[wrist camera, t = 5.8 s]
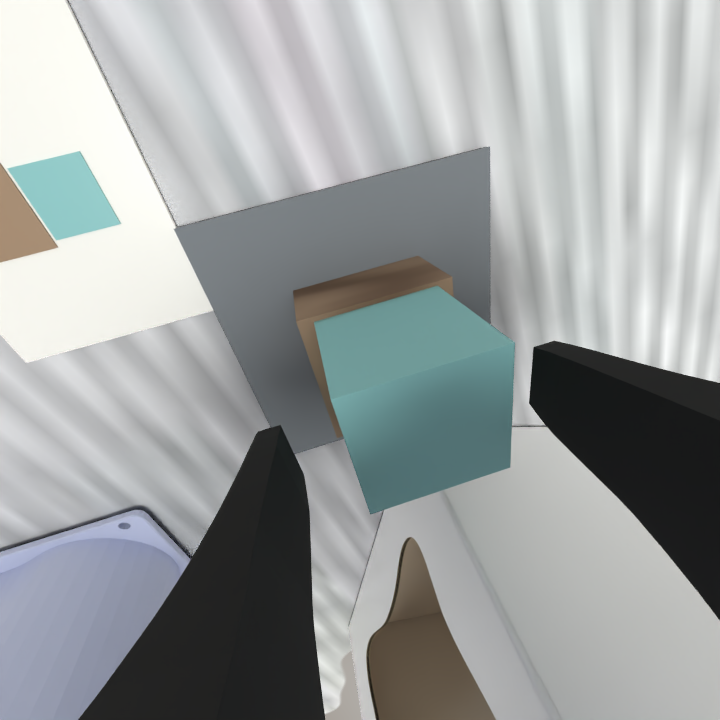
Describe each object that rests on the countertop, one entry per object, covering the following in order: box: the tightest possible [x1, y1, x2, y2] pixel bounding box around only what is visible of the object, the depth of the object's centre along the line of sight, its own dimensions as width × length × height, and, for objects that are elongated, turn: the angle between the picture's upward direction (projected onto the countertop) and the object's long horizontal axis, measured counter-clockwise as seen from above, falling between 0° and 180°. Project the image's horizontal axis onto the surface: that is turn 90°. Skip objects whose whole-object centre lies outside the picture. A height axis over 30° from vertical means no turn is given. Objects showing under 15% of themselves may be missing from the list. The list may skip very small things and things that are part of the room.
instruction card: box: [0, 0, 214, 363], centre depth 10 cm, size 7×9×1 cm
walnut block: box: [293, 256, 454, 438], centre depth 13 cm, size 5×5×3 cm
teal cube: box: [314, 286, 515, 514], centre depth 10 cm, size 4×4×4 cm
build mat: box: [174, 147, 490, 454], centre depth 14 cm, size 11×11×1 cm
